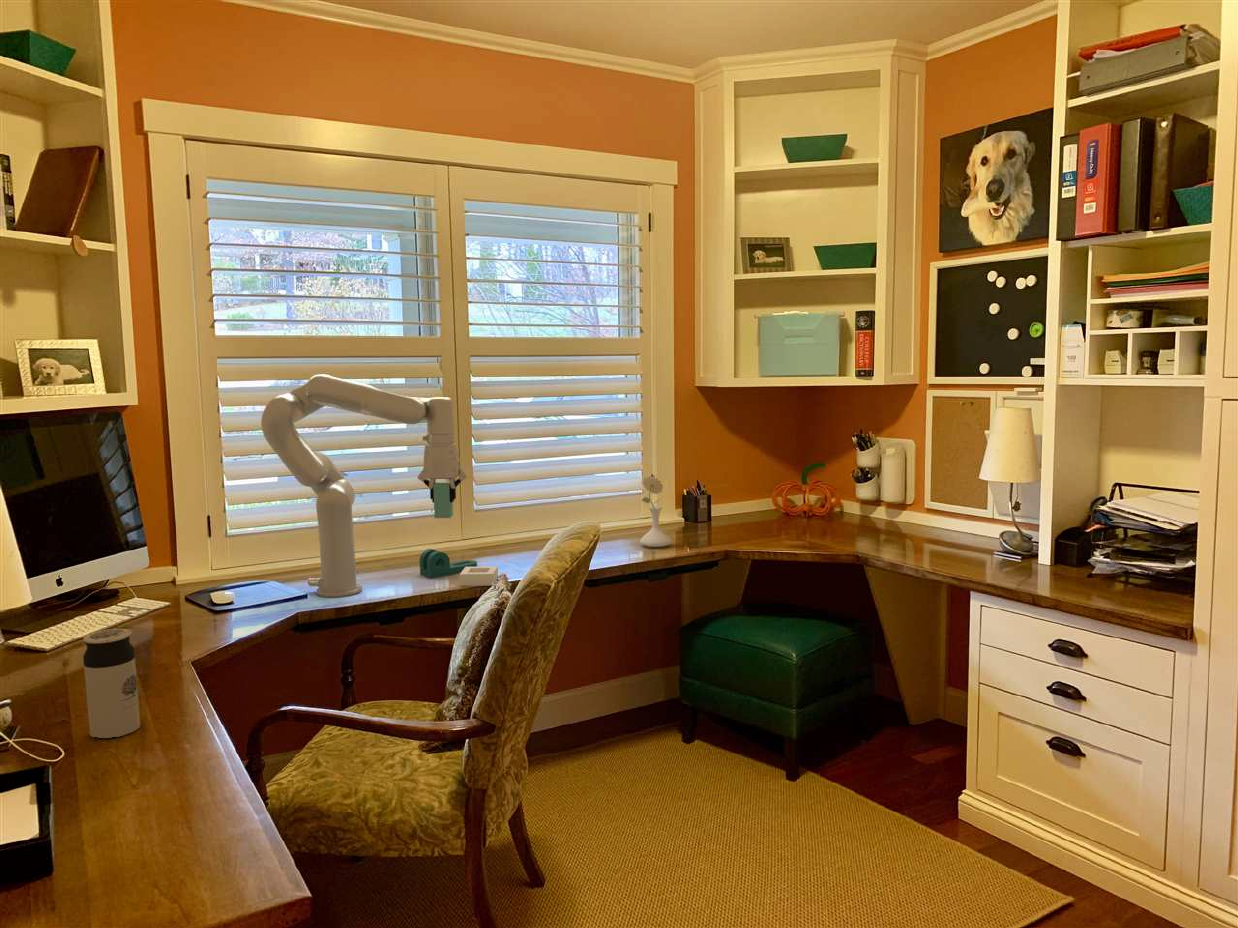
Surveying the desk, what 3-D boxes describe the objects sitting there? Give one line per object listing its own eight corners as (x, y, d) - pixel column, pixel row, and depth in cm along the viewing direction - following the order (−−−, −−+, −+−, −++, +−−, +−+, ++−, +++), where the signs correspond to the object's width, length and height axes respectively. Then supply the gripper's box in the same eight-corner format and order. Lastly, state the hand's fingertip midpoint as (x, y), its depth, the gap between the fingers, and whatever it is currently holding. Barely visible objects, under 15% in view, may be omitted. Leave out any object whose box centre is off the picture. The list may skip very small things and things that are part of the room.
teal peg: (434, 518, 262) (433, 484, 261) (437, 515, 267) (436, 482, 266) (450, 518, 262) (448, 484, 261) (453, 515, 267) (451, 482, 266)
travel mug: (79, 736, 161) (71, 638, 159) (118, 720, 168) (110, 626, 166) (112, 742, 158) (103, 643, 156) (150, 725, 165) (142, 630, 163)
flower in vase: (678, 546, 316) (677, 476, 314) (652, 550, 310) (651, 479, 307) (656, 541, 327) (655, 472, 324) (630, 545, 321) (629, 475, 318)
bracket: (430, 578, 276) (429, 553, 275) (420, 575, 281) (419, 550, 280) (481, 569, 288) (480, 545, 287) (470, 566, 293) (469, 542, 292)
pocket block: (459, 585, 266) (459, 574, 265) (465, 577, 276) (465, 566, 275) (493, 585, 266) (493, 573, 265) (498, 577, 275) (497, 566, 275)
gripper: (408, 441, 258) (411, 504, 260) (467, 440, 258) (469, 503, 260) (415, 439, 266) (417, 500, 268) (472, 438, 266) (474, 499, 268)
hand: (443, 501), depth 264 cm, fingers closed on teal peg, 4 cm apart
